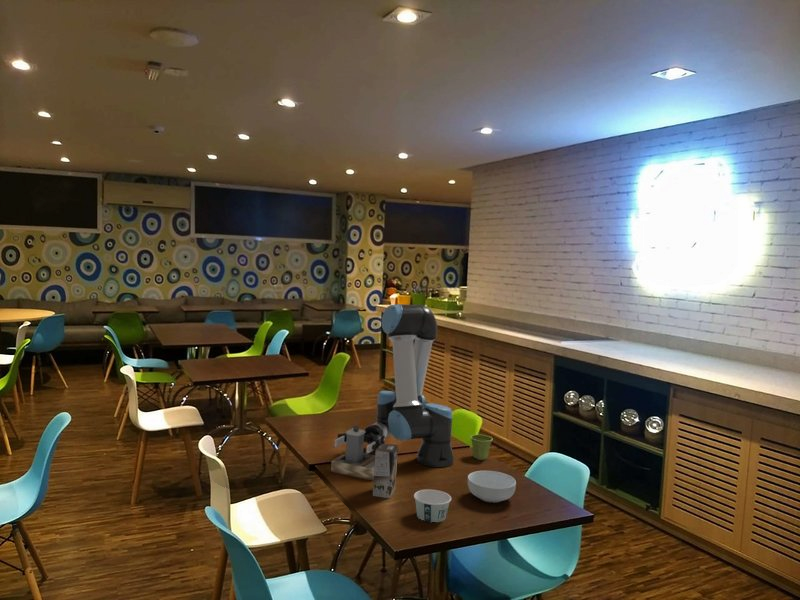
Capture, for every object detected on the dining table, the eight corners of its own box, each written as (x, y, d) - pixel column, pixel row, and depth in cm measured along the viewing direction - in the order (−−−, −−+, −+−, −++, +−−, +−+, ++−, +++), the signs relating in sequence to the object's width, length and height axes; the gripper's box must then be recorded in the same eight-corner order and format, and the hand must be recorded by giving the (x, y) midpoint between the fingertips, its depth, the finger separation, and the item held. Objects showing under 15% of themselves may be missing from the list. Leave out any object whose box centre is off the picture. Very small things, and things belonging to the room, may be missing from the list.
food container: (420, 506, 198) (421, 486, 198) (454, 513, 193) (456, 494, 193) (406, 519, 187) (408, 498, 187) (443, 527, 182) (444, 506, 182)
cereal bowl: (458, 491, 213) (459, 472, 213) (498, 487, 219) (499, 468, 219) (481, 510, 197) (483, 489, 197) (524, 505, 203) (525, 485, 203)
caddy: (390, 468, 232) (391, 458, 232) (374, 480, 218) (374, 470, 218) (349, 460, 239) (349, 450, 239) (331, 471, 225) (331, 461, 225)
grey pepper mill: (363, 465, 231) (365, 425, 231) (356, 469, 226) (359, 428, 226) (350, 463, 233) (352, 423, 233) (344, 467, 228) (346, 426, 228)
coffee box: (390, 498, 202) (393, 452, 201) (372, 496, 204) (374, 450, 203) (396, 489, 211) (398, 444, 210) (378, 487, 213) (381, 442, 212)
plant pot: (492, 462, 248) (494, 441, 247) (470, 460, 248) (471, 440, 248) (489, 455, 257) (491, 435, 257) (468, 453, 257) (469, 433, 257)
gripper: (402, 447, 241) (380, 462, 222) (347, 437, 251) (322, 450, 231) (403, 429, 241) (381, 442, 221) (348, 419, 251) (323, 431, 231)
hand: (351, 446), depth 226 cm, fingers open, 13 cm apart
